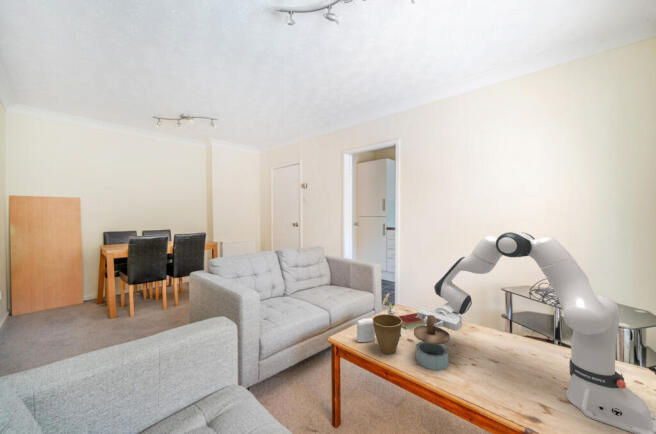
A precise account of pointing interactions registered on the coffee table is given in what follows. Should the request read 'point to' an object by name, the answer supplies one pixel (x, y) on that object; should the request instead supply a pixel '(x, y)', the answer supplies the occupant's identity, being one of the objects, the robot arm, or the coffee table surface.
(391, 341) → the plant pot
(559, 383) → the coffee table surface
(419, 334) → the walnut lid
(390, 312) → the flower in vase
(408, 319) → the hardcover book
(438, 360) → the ceramic bowl
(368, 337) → the photo printer
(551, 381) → the coffee table surface
